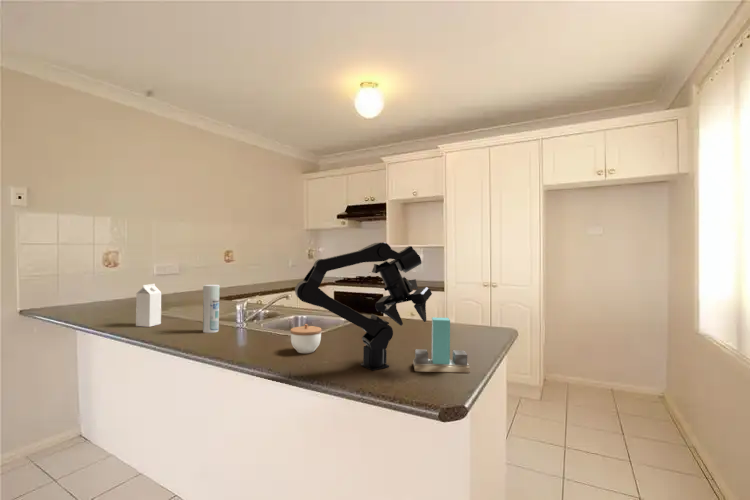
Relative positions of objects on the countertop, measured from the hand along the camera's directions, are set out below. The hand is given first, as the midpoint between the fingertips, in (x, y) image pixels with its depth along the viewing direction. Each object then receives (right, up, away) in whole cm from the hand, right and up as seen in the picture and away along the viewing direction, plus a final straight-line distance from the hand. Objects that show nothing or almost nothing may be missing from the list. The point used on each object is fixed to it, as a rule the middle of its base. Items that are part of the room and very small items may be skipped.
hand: (413, 323), depth 117 cm
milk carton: (-117, -12, +54) cm, 130 cm away
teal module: (+8, -11, -5) cm, 14 cm away
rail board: (+8, -13, -5) cm, 16 cm away
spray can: (-83, -12, +42) cm, 94 cm away
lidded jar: (-36, -13, +13) cm, 40 cm away
